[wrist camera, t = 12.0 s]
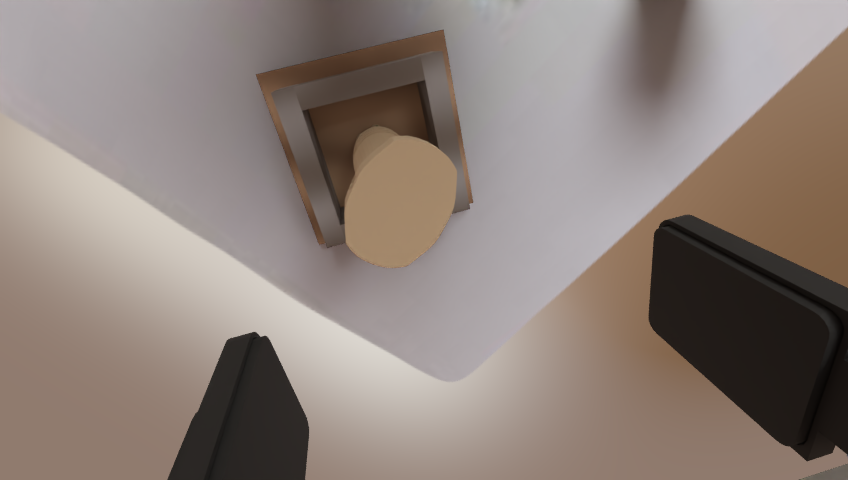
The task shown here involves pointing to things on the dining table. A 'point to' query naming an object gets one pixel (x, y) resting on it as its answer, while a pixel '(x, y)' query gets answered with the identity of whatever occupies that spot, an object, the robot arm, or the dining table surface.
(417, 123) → the socket
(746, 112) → the dining table surface
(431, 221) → the handle
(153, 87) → the dining table surface
